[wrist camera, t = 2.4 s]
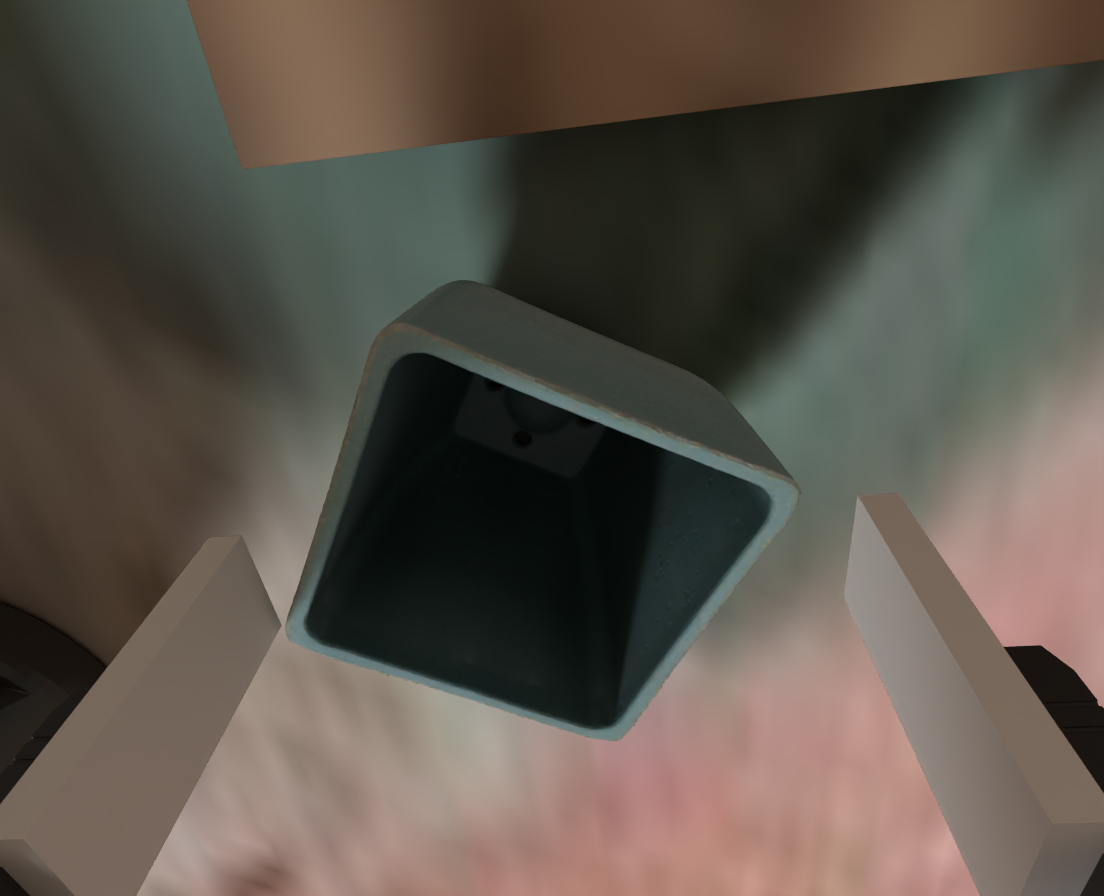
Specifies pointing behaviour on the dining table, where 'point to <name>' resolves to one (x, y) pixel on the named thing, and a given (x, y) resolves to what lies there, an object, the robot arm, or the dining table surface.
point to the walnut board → (587, 61)
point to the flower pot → (532, 514)
